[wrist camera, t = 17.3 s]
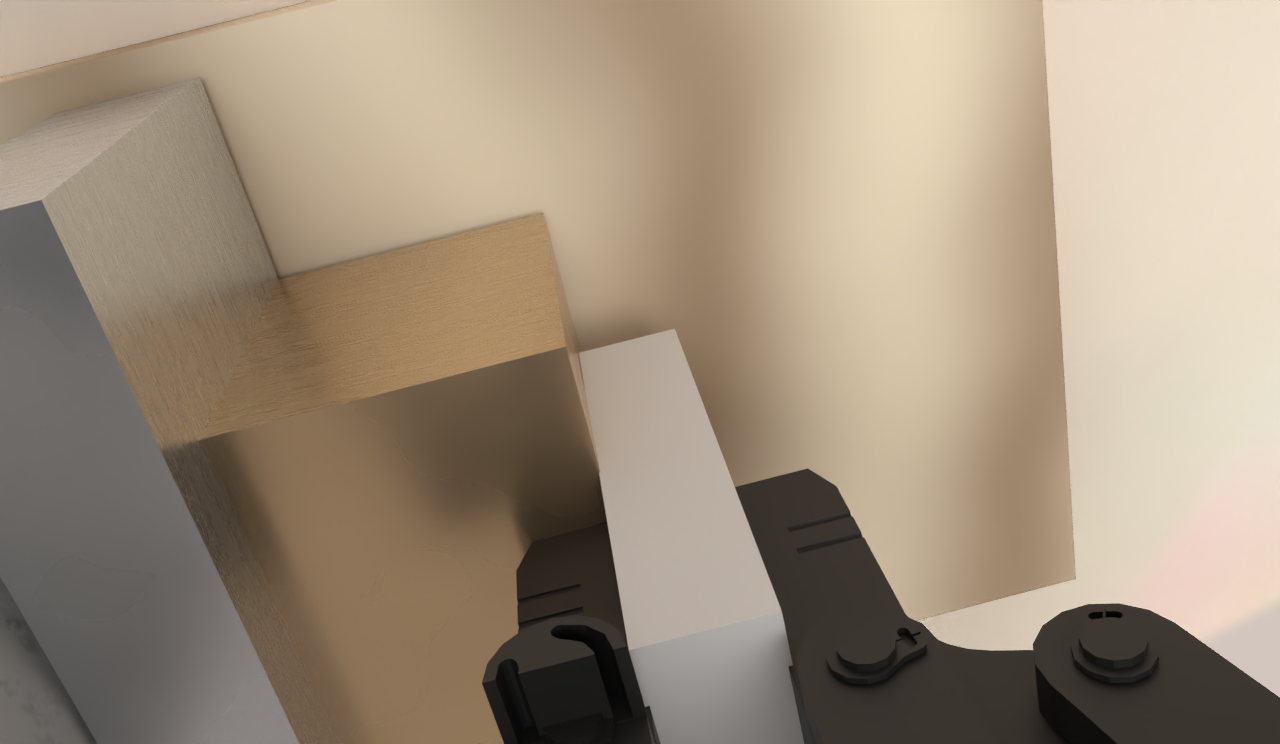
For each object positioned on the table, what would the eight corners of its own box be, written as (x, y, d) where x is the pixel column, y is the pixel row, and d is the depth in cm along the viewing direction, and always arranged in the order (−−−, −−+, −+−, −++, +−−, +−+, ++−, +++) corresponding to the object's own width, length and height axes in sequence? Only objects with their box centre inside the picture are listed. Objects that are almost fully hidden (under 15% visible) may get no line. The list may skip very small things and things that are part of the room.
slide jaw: (347, 759, 20) (297, 1088, 15) (54, 113, 15) (-185, 257, 10) (667, 675, 20) (734, 970, 15) (487, 5, 15) (490, 88, 10)
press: (-358, 918, 21) (-712, 1363, 15) (-915, 303, 16) (-1853, 605, 9) (1051, 549, 22) (1281, 828, 16) (1002, -171, 16) (1329, -188, 10)
